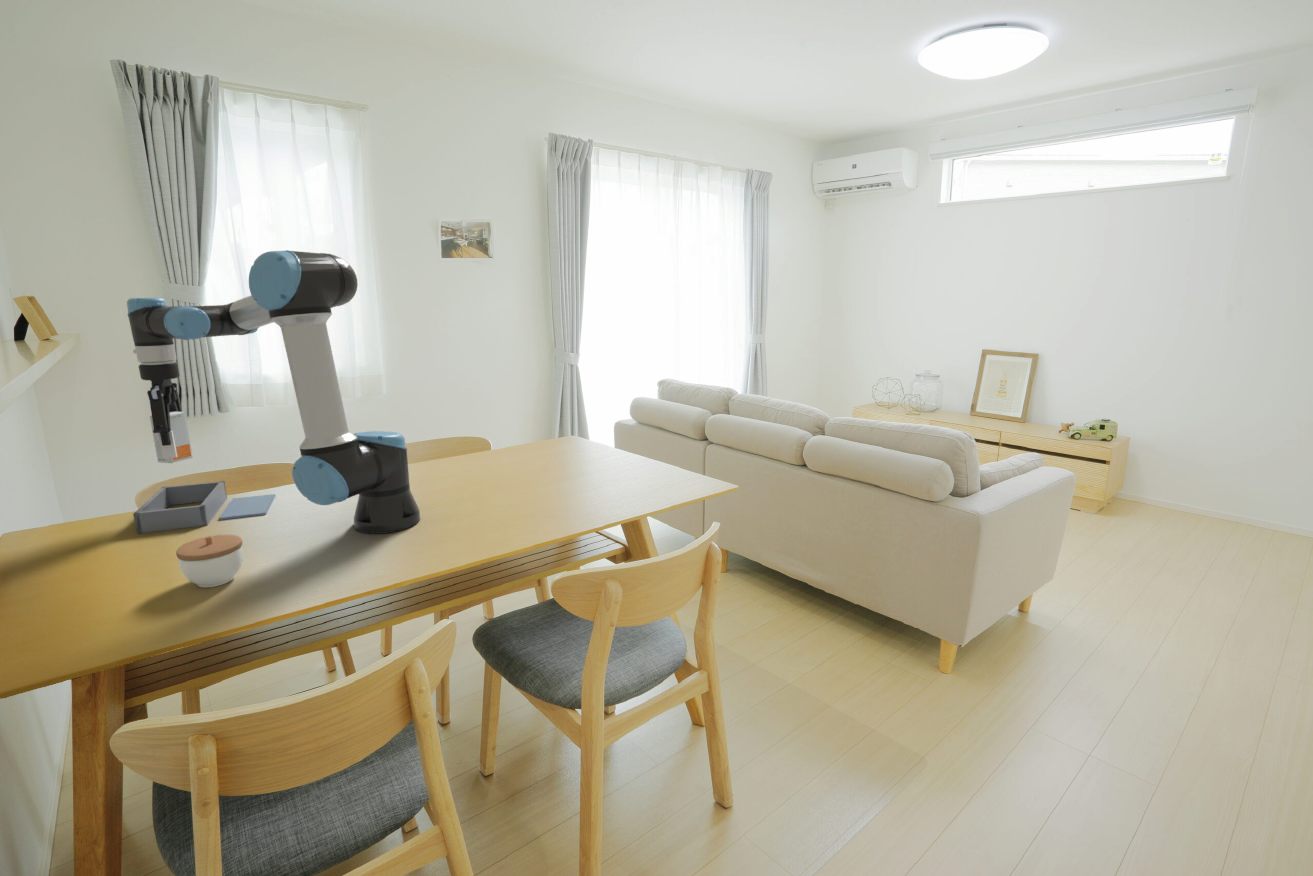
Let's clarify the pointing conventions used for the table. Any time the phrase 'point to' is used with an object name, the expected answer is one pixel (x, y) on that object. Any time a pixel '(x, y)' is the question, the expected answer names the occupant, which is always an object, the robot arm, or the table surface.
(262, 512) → the board
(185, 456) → the skincare box
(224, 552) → the lidded jar
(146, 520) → the parts bin
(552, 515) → the table surface
